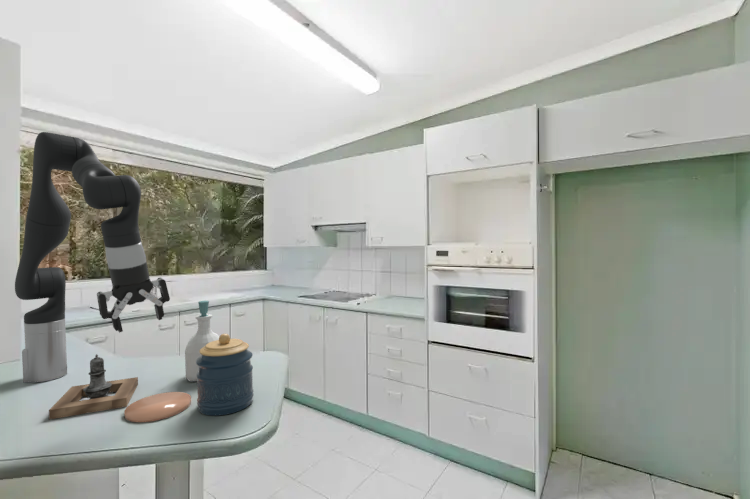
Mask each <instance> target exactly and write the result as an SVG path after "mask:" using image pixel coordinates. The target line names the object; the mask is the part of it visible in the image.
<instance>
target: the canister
mask: <svg viewBox="0 0 750 499" xmlns="http://www.w3.org/2000/svg"><path fill="white" fill-rule="evenodd" d="M219 336H220V337H219V340H216V341H212V342H210V343H208V344H206V346H204V347H203V348H201V349H200V351H199V352H200V354H201V356H200V357H199V358H198V359H197V360H196V364H197V365H198V366H199V369H198V372H197V374H196V377H197V381H196V383H197V384H196V385H197V389H196V390H197V398H196V401H197V402H196V405H197V407H198V412H199V413H201V414H202V415H206V416H212V417H213V416H215V417H216V416H225V415H230V414H234V413H237V412H240V411H242V410H244V409H246V408H247V407H249V406H250V405H251V404H252V402H253V399H254V389H253V388H254V386H253V383H254V382H253V368H254V367H253V365H252V362H251V361H252V360H251V359H252V358H253V354H254V353H253V352H252V351H250V350H249V347H250V345H249V344H248V343H247V342H246V341H243V340H242V339H239V338H231V336H230V334H228V333H221V335H219Z"/></svg>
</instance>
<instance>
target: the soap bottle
mask: <svg viewBox="0 0 750 499" xmlns="http://www.w3.org/2000/svg"><path fill="white" fill-rule="evenodd" d="M197 302H198V308H199V313H200V314H199V315H195V319H196V320H197V327H198V329H197V331H196V333H195V334H194V335H192V336H191V338H189V340H188V342H187V344H186V347H185V350H184V360H185V361H184V362H185V363H184V364H185V366H184V367H185V368H184V369H185V378H186V379H187V380H188V382H197V377H196V374H197V372H198V369H199V366H198V365H197V364H196V360H197V359H198V358H199V357H200V356H201V354H200V352H199V351H200V349H201V348H203V347H204V346H206V344H208V343H210V342H212V341H216V340H219V337H220V335H219V334H218V333H216V332H214V331H213V330H212V328H211V319H212V318H213V314H208V312H209V302H210V301H209V300H200V301H197Z"/></svg>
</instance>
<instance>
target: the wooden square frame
mask: <svg viewBox="0 0 750 499" xmlns="http://www.w3.org/2000/svg"><path fill="white" fill-rule="evenodd" d="M106 382H110V383H112V385H111V386H110V387H111V388H110V391H109V392H108V393H107V394H111V393H115V394H114V395H108V396H107V397H101V398H95V399H90V398H89V399H83V400H81V399H82V398H84V397H85V398H86V397H87V396H86V394H85V392H84V391H83V389H84V388H85V387H87V386H89V384H90V383H89V384H81V385H72V386H71V387H69V389H68V390H67V391H65V393H64V394H63V395H62V396H61V397H60V398H59V399H58V400H57V401H56V402H55V404H53V405H52V407H50V409H48V418H49V420H54V419H60V418H67V417H73V416H79V415H85V414H92V413H96V412H102V411H108V410H113V409H114V410H115V409H121V408H125V407H126V408H127V407H128V406H129V405H128V404H130V402H131V399H132V397H133V395H134V393H135V391H136V390H137V388H138V386H139V377H138V376H137V377H135V376H134V377H129V378H123V379H114V380H106Z"/></svg>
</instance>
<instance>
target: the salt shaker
mask: <svg viewBox="0 0 750 499" xmlns="http://www.w3.org/2000/svg"><path fill="white" fill-rule="evenodd" d="M106 371H107V370H106V369H105V360H104V358H103V357H100V356H99V355H98V353H96V354H95V357H94V358H91V360H90V361H89V372H88V375H89V386H87V387H85V388H84V389H83V391H84V392H85V394H86V396H85V397H88V398H89V399H95V398H101V397H107V396H109V395H108V394H109V393H108V392H109V391H110V388H111V387H110V386H111V385H112V383H110V382H107V380H106V378H105V376H106V373H105V372H106Z"/></svg>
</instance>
